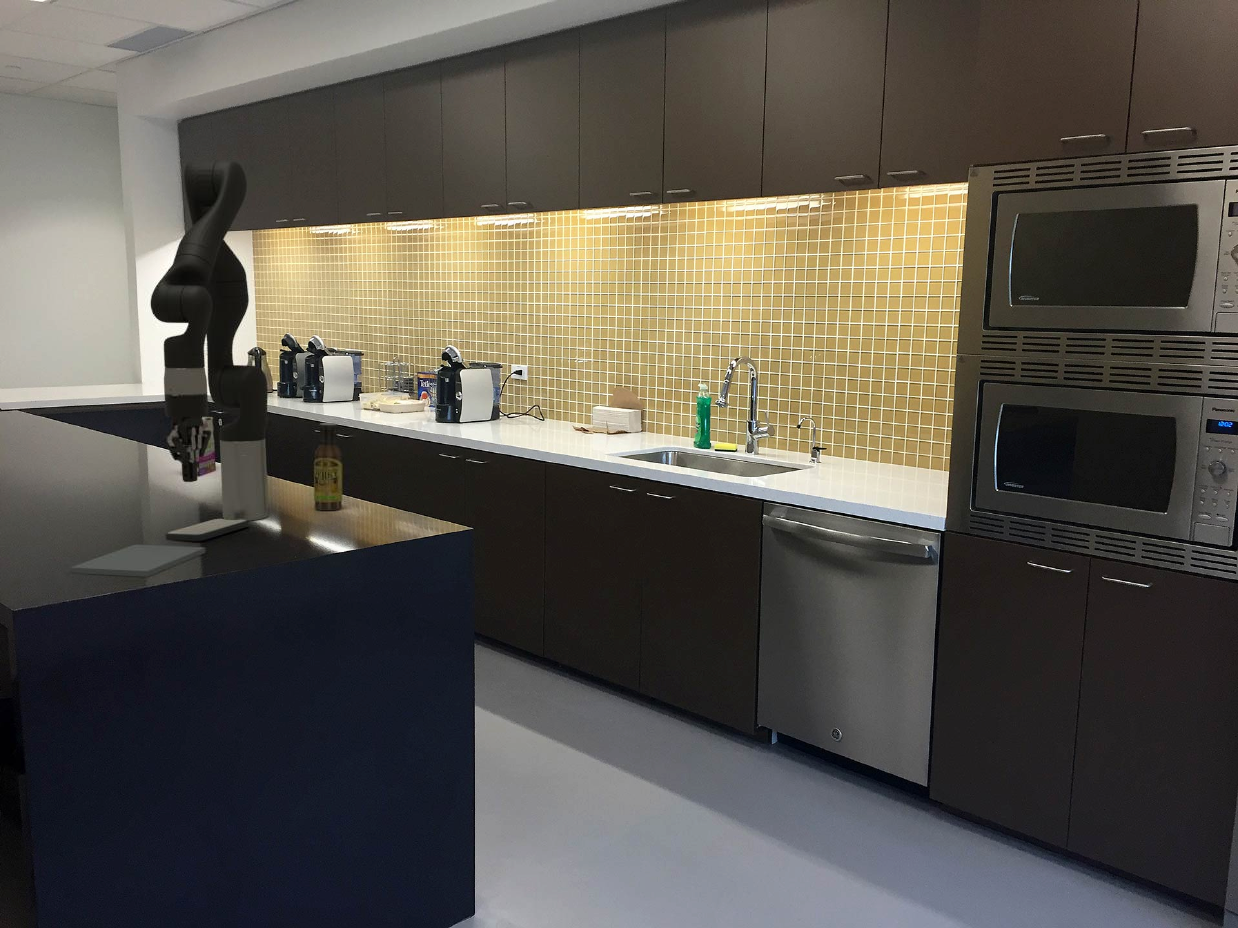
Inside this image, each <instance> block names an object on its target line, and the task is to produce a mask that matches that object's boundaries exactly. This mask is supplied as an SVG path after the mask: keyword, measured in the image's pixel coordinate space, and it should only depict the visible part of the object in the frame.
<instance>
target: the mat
mask: <svg viewBox="0 0 1238 928" xmlns="http://www.w3.org/2000/svg"><path fill="white" fill-rule="evenodd" d="M203 554H206V547H201V546H199V547H197V546H196V547H195V546H180V545H179V546H178V545H175V546H174V545H158V544H157V545H153V544H133V545H130V546H127V547H124V548H122V549H118V550H116V551H113V552H110V553H107V554H105V555H101V556H99V557H96V558H93V559H90V560H87V561H84V562H81V563H79V564H76V565H73V566H70V570H69V571H70V573H71V574H80V575H99V576H104V575H105V576H116V577H117V576H119V577H121V576H122V577H140V578H142V577H143V578H148V577H150V576H154V575H155V574H156V575H157V573H160V572H163V571H165V570H167V569H170V568H173V567H175V566H177V565H180V564H182V563H185V562H187V561H189V560H192V559H194V558H196V557H199V556H201V555H202V556H203Z"/></svg>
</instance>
